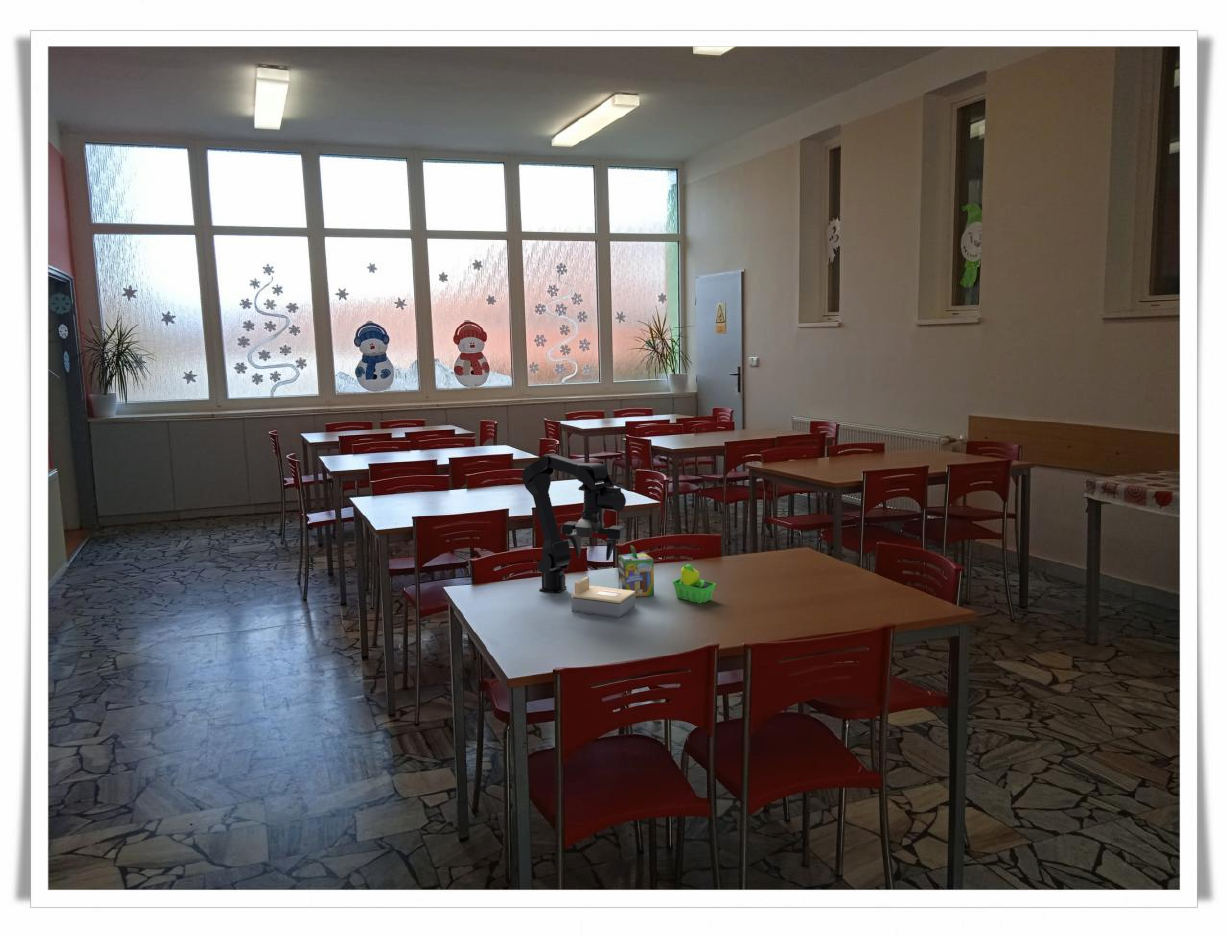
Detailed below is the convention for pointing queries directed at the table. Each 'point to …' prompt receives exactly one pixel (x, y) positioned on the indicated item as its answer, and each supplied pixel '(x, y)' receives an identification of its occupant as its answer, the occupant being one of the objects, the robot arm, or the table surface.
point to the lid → (600, 592)
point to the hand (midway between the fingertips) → (593, 558)
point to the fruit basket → (693, 586)
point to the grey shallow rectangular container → (603, 607)
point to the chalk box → (636, 573)
